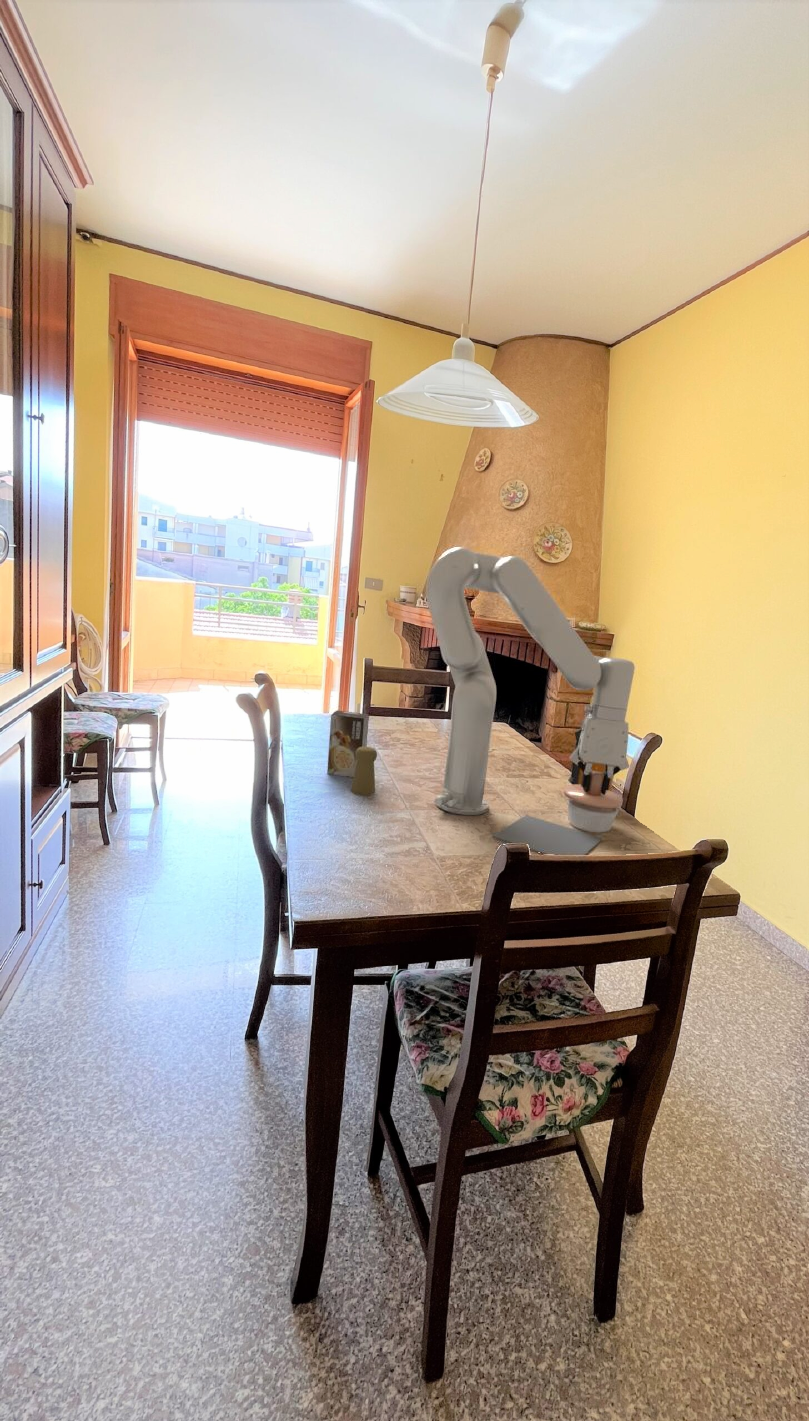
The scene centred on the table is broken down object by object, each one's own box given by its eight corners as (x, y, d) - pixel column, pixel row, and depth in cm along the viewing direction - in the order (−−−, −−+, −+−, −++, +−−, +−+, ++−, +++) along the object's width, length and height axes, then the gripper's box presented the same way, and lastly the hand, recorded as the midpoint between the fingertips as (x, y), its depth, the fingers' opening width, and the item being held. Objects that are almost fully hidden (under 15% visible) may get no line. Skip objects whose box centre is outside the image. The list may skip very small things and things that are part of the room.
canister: (613, 809, 158) (626, 732, 155) (569, 805, 158) (581, 728, 155) (603, 797, 167) (615, 724, 163) (561, 793, 167) (572, 720, 163)
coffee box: (365, 772, 168) (370, 714, 165) (359, 779, 162) (365, 718, 159) (332, 767, 170) (337, 709, 167) (325, 774, 164) (330, 713, 161)
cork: (378, 790, 155) (383, 747, 153) (369, 797, 149) (373, 752, 147) (356, 785, 157) (360, 743, 155) (346, 792, 151) (350, 748, 149)
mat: (574, 865, 122) (574, 863, 122) (491, 837, 132) (491, 835, 132) (602, 839, 137) (602, 838, 137) (526, 816, 147) (526, 815, 147)
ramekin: (624, 835, 141) (627, 813, 140) (578, 835, 139) (582, 812, 138) (599, 817, 152) (602, 796, 151) (556, 816, 149) (559, 795, 148)
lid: (612, 812, 135) (617, 786, 134) (555, 795, 142) (559, 770, 141) (629, 799, 146) (633, 775, 145) (575, 784, 153) (579, 761, 152)
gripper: (574, 711, 137) (560, 791, 141) (650, 721, 136) (634, 801, 140) (568, 705, 144) (555, 781, 148) (640, 715, 144) (625, 791, 147)
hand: (593, 790), depth 144 cm, fingers closed on lid, 3 cm apart
